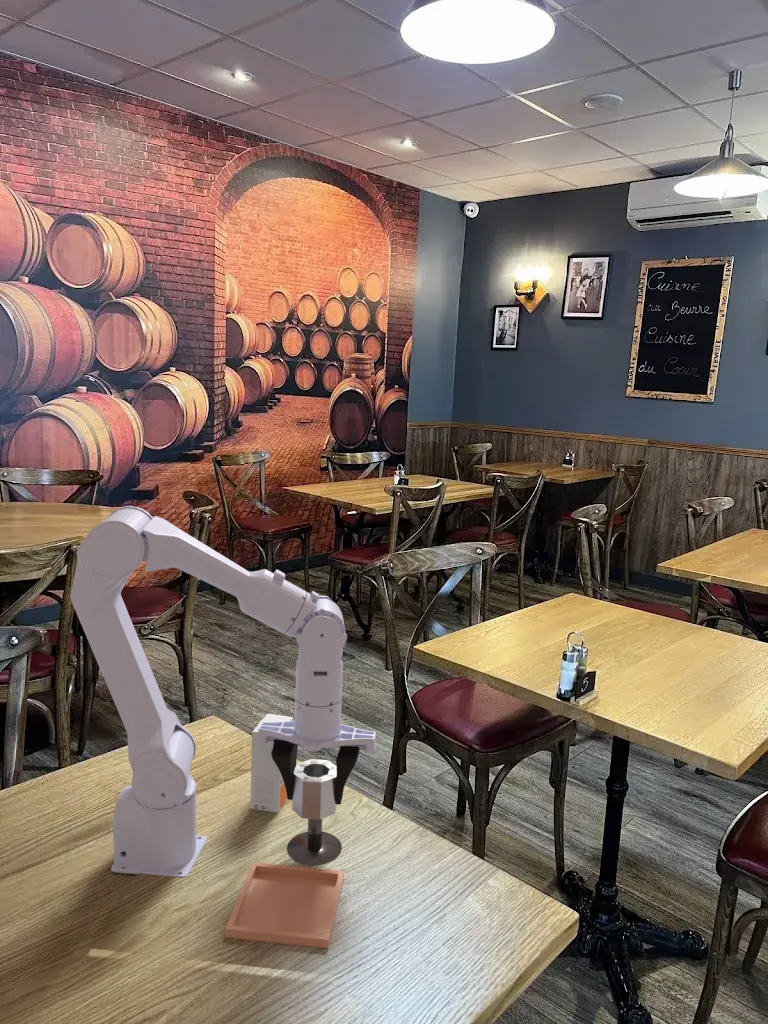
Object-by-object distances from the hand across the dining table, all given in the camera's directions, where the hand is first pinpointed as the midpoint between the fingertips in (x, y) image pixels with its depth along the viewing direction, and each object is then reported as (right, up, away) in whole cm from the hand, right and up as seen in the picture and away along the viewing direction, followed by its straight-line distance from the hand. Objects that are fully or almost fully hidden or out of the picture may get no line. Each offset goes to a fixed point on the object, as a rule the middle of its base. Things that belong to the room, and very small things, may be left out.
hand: (315, 797), depth 95 cm
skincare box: (-7, -5, +12) cm, 15 cm away
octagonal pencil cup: (0, -1, 0) cm, 1 cm away
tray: (-2, -9, -9) cm, 13 cm away
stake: (0, -7, +1) cm, 8 cm away
